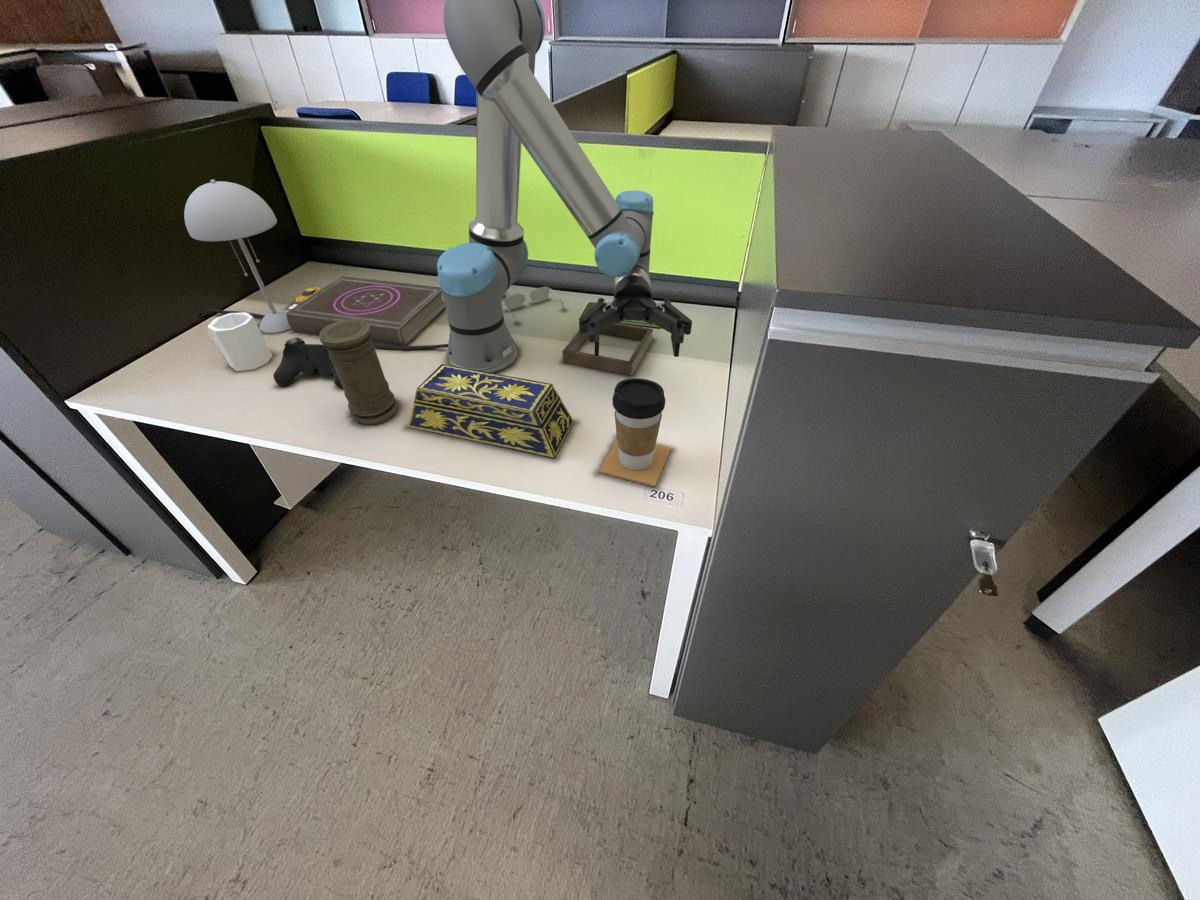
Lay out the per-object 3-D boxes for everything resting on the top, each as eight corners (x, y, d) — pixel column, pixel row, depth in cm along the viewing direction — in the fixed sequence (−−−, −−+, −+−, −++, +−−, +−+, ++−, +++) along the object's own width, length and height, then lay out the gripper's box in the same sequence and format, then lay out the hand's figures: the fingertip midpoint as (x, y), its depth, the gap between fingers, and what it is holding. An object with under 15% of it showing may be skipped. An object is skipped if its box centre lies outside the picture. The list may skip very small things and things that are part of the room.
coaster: (599, 473, 90) (599, 470, 89) (618, 437, 97) (618, 435, 96) (654, 487, 87) (655, 485, 87) (670, 449, 94) (670, 447, 94)
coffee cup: (609, 444, 94) (610, 375, 84) (655, 442, 95) (661, 372, 85) (614, 477, 88) (615, 407, 78) (663, 474, 89) (671, 403, 78)
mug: (280, 353, 120) (261, 314, 113) (252, 373, 113) (230, 333, 107) (237, 346, 122) (216, 307, 115) (208, 366, 116) (183, 326, 109)
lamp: (279, 346, 122) (207, 195, 100) (225, 334, 126) (144, 187, 104) (331, 313, 134) (276, 172, 112) (279, 303, 138) (217, 166, 116)
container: (384, 427, 99) (353, 345, 87) (342, 422, 101) (306, 340, 89) (406, 400, 106) (380, 319, 94) (366, 395, 107) (336, 315, 95)
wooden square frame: (563, 362, 116) (562, 350, 114) (589, 328, 127) (589, 317, 125) (631, 376, 111) (631, 364, 109) (652, 340, 123) (653, 328, 121)
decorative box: (554, 458, 92) (551, 419, 86) (408, 427, 99) (396, 388, 93) (575, 422, 100) (573, 383, 94) (438, 395, 107) (428, 357, 101)
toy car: (292, 305, 137) (289, 297, 135) (314, 291, 143) (311, 283, 141) (305, 307, 136) (302, 299, 134) (327, 293, 142) (323, 285, 140)
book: (448, 305, 137) (444, 287, 133) (403, 348, 121) (398, 329, 117) (347, 293, 143) (341, 275, 139) (292, 332, 127) (283, 314, 123)
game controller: (364, 384, 115) (360, 338, 112) (347, 388, 108) (342, 339, 105) (292, 382, 115) (287, 336, 113) (272, 386, 109) (265, 337, 106)
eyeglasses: (551, 298, 139) (550, 284, 136) (565, 312, 134) (565, 298, 132) (503, 311, 134) (501, 297, 131) (516, 327, 129) (515, 312, 126)
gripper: (692, 311, 106) (707, 369, 90) (570, 309, 106) (564, 367, 90) (697, 275, 101) (714, 330, 85) (569, 274, 101) (562, 328, 85)
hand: (636, 349), depth 88 cm, fingers open, 13 cm apart
